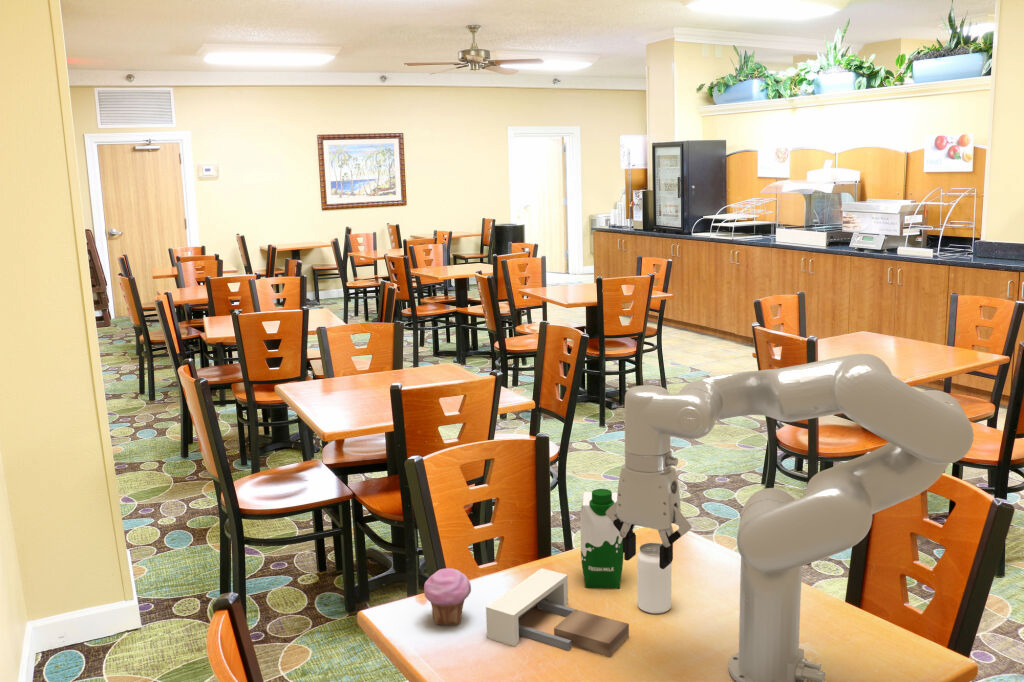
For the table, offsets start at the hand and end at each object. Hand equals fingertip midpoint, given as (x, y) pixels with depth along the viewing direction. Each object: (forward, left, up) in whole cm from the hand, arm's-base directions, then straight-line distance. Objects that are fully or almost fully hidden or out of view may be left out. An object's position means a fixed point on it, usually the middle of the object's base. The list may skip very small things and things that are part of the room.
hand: (647, 560), depth 148 cm
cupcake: (+38, +8, -18) cm, 42 cm away
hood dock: (+20, 0, -18) cm, 27 cm away
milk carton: (+21, -22, -18) cm, 35 cm away
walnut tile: (+11, 0, -18) cm, 21 cm away
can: (+7, -17, -18) cm, 25 cm away
